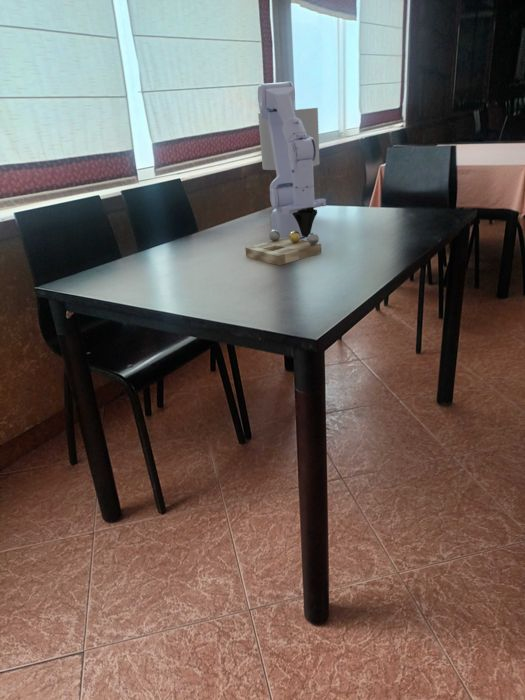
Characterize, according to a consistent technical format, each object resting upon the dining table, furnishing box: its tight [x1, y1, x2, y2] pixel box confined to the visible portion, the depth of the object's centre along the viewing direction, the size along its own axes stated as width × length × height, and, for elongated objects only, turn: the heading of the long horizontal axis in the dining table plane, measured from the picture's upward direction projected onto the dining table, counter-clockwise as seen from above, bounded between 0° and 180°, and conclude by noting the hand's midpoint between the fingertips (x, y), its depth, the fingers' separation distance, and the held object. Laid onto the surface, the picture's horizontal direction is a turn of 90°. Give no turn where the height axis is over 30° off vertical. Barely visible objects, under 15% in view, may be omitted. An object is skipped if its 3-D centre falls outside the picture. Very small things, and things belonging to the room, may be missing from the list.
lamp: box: [257, 107, 321, 209], centre depth 176 cm, size 20×20×37 cm
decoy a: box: [268, 229, 280, 241], centre depth 142 cm, size 3×3×3 cm
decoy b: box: [306, 232, 320, 245], centre depth 134 cm, size 3×3×3 cm
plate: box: [244, 237, 322, 266], centre depth 137 cm, size 15×15×2 cm
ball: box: [289, 231, 301, 243], centre depth 138 cm, size 3×3×3 cm
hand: (305, 236), depth 141 cm, fingers closed
